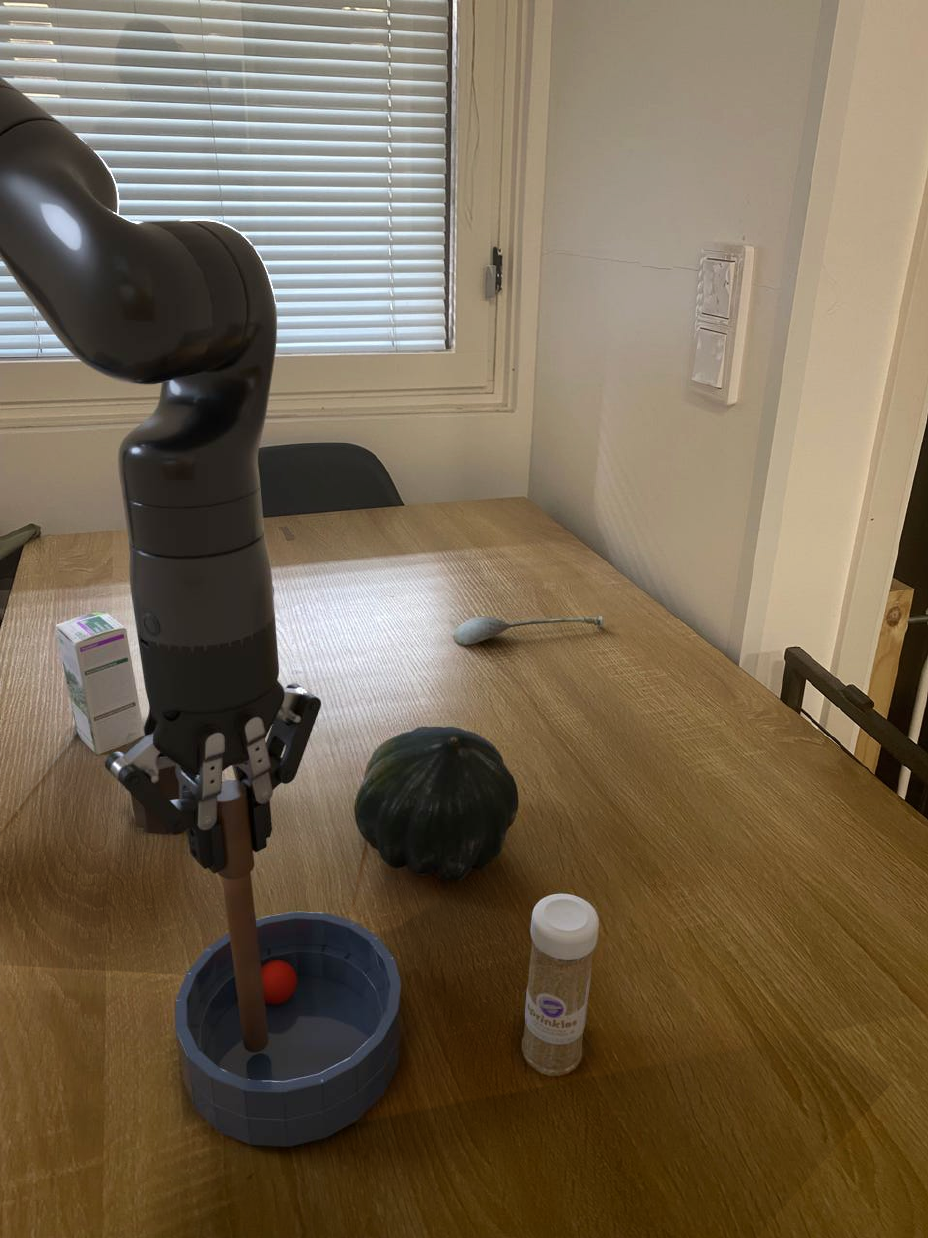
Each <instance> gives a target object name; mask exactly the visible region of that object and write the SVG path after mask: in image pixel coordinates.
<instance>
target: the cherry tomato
mask: <svg viewBox="0 0 928 1238" xmlns="http://www.w3.org/2000/svg"><path fill="white" fill-rule="evenodd" d="M261 971H262V980H263V989H264V998H265V1003H267V1004H271V1005H278V1004H281V1003H284V1002H285V1001H287V1000H288V999H289V998H290V997H291V996H292V995H293V993H294V991H295V989H296V986H297V976H296V973H295V970H294V969H293V967H292V966H291V965H290V964H288V963H287V962H285V961H282V960H273V961H270V962H267V963H266V964H264V965H263V966H262V967H261Z"/></svg>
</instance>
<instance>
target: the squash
mask: <svg viewBox="0 0 928 1238" xmlns="http://www.w3.org/2000/svg"><path fill="white" fill-rule="evenodd" d="M518 791H519V790H518V786H517V783H516V780H515V778H514V775H513V774H512V773H511V772H510V770H509V768H508V767H507V766H506V764H505V763H504V760H503V756H502V754H501V753H500V751H499V750H498V749H497V748H496V746H495V745H494V744H493V743H491V741H489V740H488V739H486V738H485V737H483V736H481V735H479V734H477V733H475V732H473V731H469V730H465V729H463V728H459V727H456V726H420V727H419V726H418V727H416V728H415V729H413V730H411V731H408V732H407V731H406V732H402V733H400V734H397V735H395V736H392V737H390V738H388V739H386V740H385V741H383V742H382V743H381V744H380V745H379V746H378V747H376V749H375V750H374V751H373V753H372V755H371V757H370V759H369V760H368V762H367V764H366V768H365V770H364V776H363V781H362V783H361V784H360V786H359V789H358V791H357V793H356V796H355V799H354V805H353V811H354V812H353V813H354V820H355V823H356V827H357V828H358V831H359V833H360V835H361V836H362V838H363V839H364V840H365V841H366V842H367V843H368V844H369V845H370V846H371V847H372V848H373V849H374V850H377V852H378V853H379V855H380V857H381V859H382V861H383V862H385V863H386V864H387V865H388V866H389V867H390V868H394V869H401V868H404V867H407V869H408V870H409V871H410V872H411V873H412V874H414V875H417V876H424V875H427V874H429V873H431V872H432V873H433V874H434V875H435V876H436V877H438V878H439V879H440V880H441V881H444V882H448V883H457V882H460V881H461V880H463V879H464V878H465V877H466V876H467V875H469V873H470V871H471V870H472V871H479V870H481V869H484V868H486V867H487V866H489V865H490V864H491V863H492V862H493V861H495V860H496V859H497V858H498V856H499V855H500V854H501V852H502V849H503V846H504V843H505V839H506V835H507V832H508V830H509V829H510V827H511V826H512V825H513V823H514V822H515V820H516V817H517V813H518V809H519V792H518Z"/></svg>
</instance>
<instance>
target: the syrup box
mask: <svg viewBox="0 0 928 1238" xmlns="http://www.w3.org/2000/svg"><path fill="white" fill-rule="evenodd" d="M54 625H55V627H54V628H55V633H56V637H57V642H58V647H59V652H60V657H61V663H62V667H63V671H64V676H65V682H66V686H67V691H68V697H69V701H70V706H71V711H72V715H73V720H74V723H75V724H74V725H75V729H76V735H77V736H78V737H79V738H80V739H81V740H82V741H83V743H85V744H86V745H87V747H89V749H90V750H91V751H92V752H93V753H94V754H95V755H97V756H98V755H101V754H104V753H107V752H109V751H112V750H115V749H118V748H120V747H122V746H125V745H128V744H129V743H130V742H132V741H134V740H136V739H138V738H139V737H141V736H143V735H145V734H144V726H143V719H142V713H141V707H140V701H139V700H140V699H139V694H138V689H137V683H136V677H135V672H134V667H133V666H134V665H133V660H132V656H131V649H130V644H129V638H128V632H127V631H128V630H127V628H126V627H125V626H123V625H122V624H121V623H120V622H119V621H118V620H116V619H115V618H114V617H113V616H111V615H110V614H108V613H107V612H106V611H104V610H102V611H97V612H91V613H87V614H83V615H80V616H77V617H74V618H71V619H68V620H65V621H63V622H60V623H58V624H54Z"/></svg>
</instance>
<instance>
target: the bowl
mask: <svg viewBox="0 0 928 1238" xmlns="http://www.w3.org/2000/svg"><path fill="white" fill-rule="evenodd" d="M256 926H257V935H258V944H259V953H260V962H261V967H262V966H263V965H264V964H266V963H267V962H270V961H273V960H282V961H285V962H287V963H288V964H290V965H291V966H292V967H293V969H294V970H295V973H296V976H297V986H296V989H295V991H294V993H293V995H292V996H291V997H290V998H289V999H288V1000H287V1001H285V1002H284V1003H281V1004H278V1005H271V1004H267V1003H265V1007H266V1016H267V1026H268V1035H269V1043H268V1045H267V1046H266V1048H265V1049H263V1050H262V1051H260V1052H255V1053H253V1052H249V1051H247V1050H246V1049H245V1048H244V1044H243V1037H242V1029H241V1021H240V1013H239V1005H238V997H237V989H236V982H235V974H234V966H233V958H232V950H231V942H230V935H229V932H227V933H226V934H224V935H223V936H222V937H219V938H218V939H217V940H216V941H214V942H213V943H212V944H210V945H209V946H208V947H206V949H205V950H204V951H203V952H202V954H200V956H199V957H198V958H197V959H196V960H195V962H194V963H193V964H192V965H191V967H190V968H189V969H188V970H187V971H186V973H185V976H184V977H183V981H182V982H181V985H180V988H179V990H178V993H177V995H176V998H175V1002H174V1032H175V1038H176V1043H177V1049H178V1057H179V1063H180V1069H181V1075H182V1081H183V1085H184V1088H185V1091H186V1092H187V1094H188V1095H189V1096H188V1097H189V1099H190V1101H191V1103H192V1106H193V1108H194V1110H195V1111H196V1112H197V1113H198V1114H199V1115H200V1116H201V1117H202V1118H203V1119H204V1120H206V1122H207V1123H209V1124H210V1125H211V1126H212V1127H213V1128H214V1129H215V1130H216V1131H217V1132H219V1133H220V1134H223V1135H225V1136H228V1137H230V1138H233V1139H235V1140H238V1141H240V1142H243V1143H245V1144H248V1145H250V1146H251V1145H252V1146H265V1147H283V1148H288V1147H289V1148H290V1147H294V1146H298V1145H302V1144H303V1145H304V1144H307V1143H310V1142H315V1141H319V1140H323V1139H326V1138H329V1137H330V1136H332V1135H334V1134H336V1133H338V1132H339V1131H341V1130H343V1129H344V1128H346V1127H348V1126H350V1125H352V1124H353V1123H355V1122H357V1121H359V1119H361V1118H362V1117H363V1116H364V1115H365V1114H366V1113H367V1111H368V1110H370V1109H371V1107H372V1106H373V1105H375V1104H376V1103H377V1102H378V1100H380V1099H381V1097H382V1096H383V1095H384V1094H385V1092H386V1090H387V1088H388V1086H389V1084H390V1082H391V1080H392V1078H393V1076H394V1074H395V1072H396V1070H397V1068H398V1066H399V1064H400V1054H401V1045H402V1037H403V1021H402V1020H403V1016H402V1015H403V1011H402V1010H403V1009H402V1008H403V1006H402V1005H403V1004H402V1003H403V1000H402V999H403V998H402V997H403V996H402V992H403V991H402V986H403V985H402V981H401V977H400V972H399V969H398V965H397V962H396V959H395V957H394V956H393V954H392V953H391V951H390V950H389V949H388V947H387V946H386V945H385V943H383V941H382V940H381V938H380V937H379V936H378V935H376V934H375V933H373V932H371V931H370V930H368V929H367V928H366V927H364V926H363V925H361V924H360V923H358V922H356V921H354V920H351V919H348V918H345V917H341V916H338V915H335V914H331V913H328V912H327V913H326V912H316V911H315V912H314V911H297V910H296V911H290V912H285V913H278V914H273V915H267V916H262V917H260V918H256Z"/></svg>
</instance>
